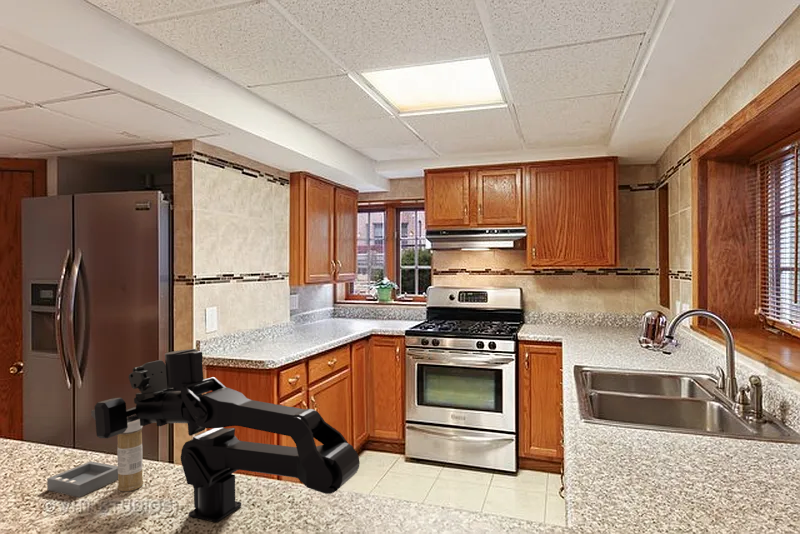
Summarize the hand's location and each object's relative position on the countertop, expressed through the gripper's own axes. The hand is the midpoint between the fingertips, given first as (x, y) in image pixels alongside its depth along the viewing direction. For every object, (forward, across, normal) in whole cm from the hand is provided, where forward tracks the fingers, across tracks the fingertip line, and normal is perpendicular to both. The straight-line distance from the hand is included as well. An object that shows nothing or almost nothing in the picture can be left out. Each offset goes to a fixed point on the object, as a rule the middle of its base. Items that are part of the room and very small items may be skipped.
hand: (114, 406), depth 96 cm
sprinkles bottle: (0, -2, +17) cm, 17 cm away
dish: (+10, 0, +16) cm, 18 cm away
